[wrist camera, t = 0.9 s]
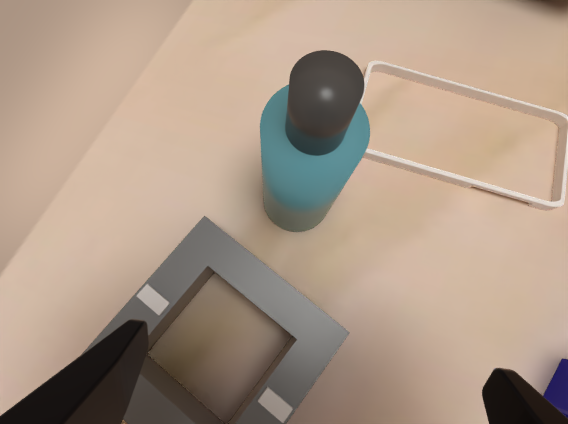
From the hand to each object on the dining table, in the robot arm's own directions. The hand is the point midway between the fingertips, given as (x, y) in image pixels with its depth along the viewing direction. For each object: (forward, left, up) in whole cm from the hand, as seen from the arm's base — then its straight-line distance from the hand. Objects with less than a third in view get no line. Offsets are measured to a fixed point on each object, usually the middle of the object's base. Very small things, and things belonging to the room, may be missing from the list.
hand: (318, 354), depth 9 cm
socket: (-3, +3, -13) cm, 14 cm away
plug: (+7, +5, -13) cm, 15 cm away
